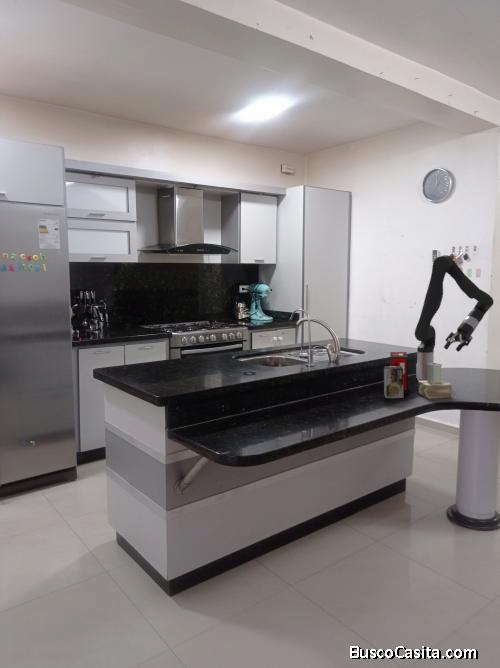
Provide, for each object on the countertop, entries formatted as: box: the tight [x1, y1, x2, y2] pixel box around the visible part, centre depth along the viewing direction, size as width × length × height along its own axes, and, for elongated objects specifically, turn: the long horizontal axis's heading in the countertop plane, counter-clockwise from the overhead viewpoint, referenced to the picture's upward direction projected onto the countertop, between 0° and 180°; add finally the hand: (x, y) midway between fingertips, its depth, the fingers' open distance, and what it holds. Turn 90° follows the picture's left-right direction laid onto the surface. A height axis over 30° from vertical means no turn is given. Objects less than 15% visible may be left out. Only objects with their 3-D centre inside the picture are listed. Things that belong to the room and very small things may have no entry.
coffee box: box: [383, 365, 405, 399], centre depth 256 cm, size 9×6×16 cm
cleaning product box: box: [389, 351, 409, 394], centre depth 270 cm, size 16×9×20 cm, turn 164°
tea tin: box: [427, 362, 443, 384], centre depth 255 cm, size 5×5×10 cm
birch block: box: [417, 379, 453, 400], centre depth 256 cm, size 13×13×7 cm
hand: (451, 349), depth 258 cm, fingers open, 8 cm apart
